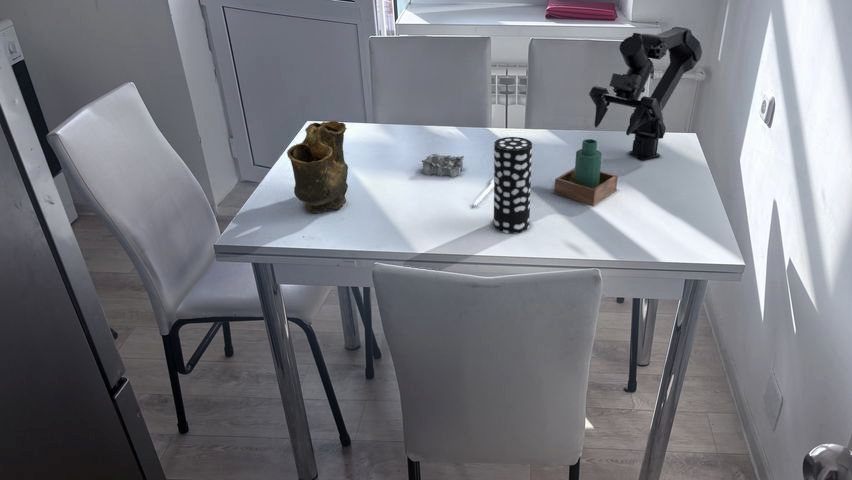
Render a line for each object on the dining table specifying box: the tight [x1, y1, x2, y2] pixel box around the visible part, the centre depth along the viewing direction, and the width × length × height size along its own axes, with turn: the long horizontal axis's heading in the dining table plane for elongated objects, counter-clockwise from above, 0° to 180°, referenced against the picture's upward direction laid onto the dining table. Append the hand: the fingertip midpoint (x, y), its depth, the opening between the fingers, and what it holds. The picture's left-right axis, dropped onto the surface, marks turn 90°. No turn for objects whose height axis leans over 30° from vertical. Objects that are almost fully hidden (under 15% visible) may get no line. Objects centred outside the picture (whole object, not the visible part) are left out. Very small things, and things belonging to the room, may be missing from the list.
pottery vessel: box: [286, 120, 349, 214], centre depth 167 cm, size 25×11×20 cm, turn 178°
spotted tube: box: [493, 136, 533, 234], centre depth 158 cm, size 8×8×20 cm
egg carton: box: [421, 153, 465, 178], centre depth 190 cm, size 11×8×4 cm
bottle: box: [574, 138, 603, 189], centre depth 176 cm, size 6×6×13 cm
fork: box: [472, 177, 494, 207], centre depth 179 cm, size 3×20×2 cm, turn 160°
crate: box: [553, 167, 619, 206], centre depth 179 cm, size 12×12×4 cm
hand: (611, 130), depth 180 cm, fingers open, 9 cm apart
